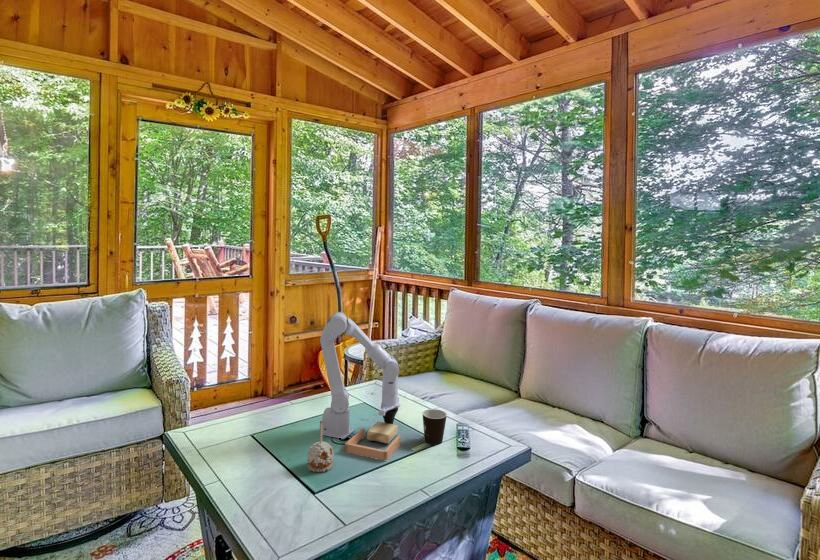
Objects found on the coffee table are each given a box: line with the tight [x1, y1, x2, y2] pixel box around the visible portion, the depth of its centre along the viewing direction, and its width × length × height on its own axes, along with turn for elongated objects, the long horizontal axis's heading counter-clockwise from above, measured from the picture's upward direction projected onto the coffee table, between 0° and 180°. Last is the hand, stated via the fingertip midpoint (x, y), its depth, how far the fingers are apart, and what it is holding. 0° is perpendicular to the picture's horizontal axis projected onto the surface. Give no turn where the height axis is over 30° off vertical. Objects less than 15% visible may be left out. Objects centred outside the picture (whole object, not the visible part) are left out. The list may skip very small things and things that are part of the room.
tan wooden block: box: [366, 421, 399, 446], centre depth 164 cm, size 8×9×4 cm
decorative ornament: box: [307, 419, 335, 473], centre depth 143 cm, size 8×8×15 cm
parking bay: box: [344, 428, 402, 461], centre depth 157 cm, size 15×13×3 cm
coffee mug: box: [422, 408, 448, 446], centre depth 165 cm, size 12×9×10 cm
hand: (388, 427), depth 170 cm, fingers closed
